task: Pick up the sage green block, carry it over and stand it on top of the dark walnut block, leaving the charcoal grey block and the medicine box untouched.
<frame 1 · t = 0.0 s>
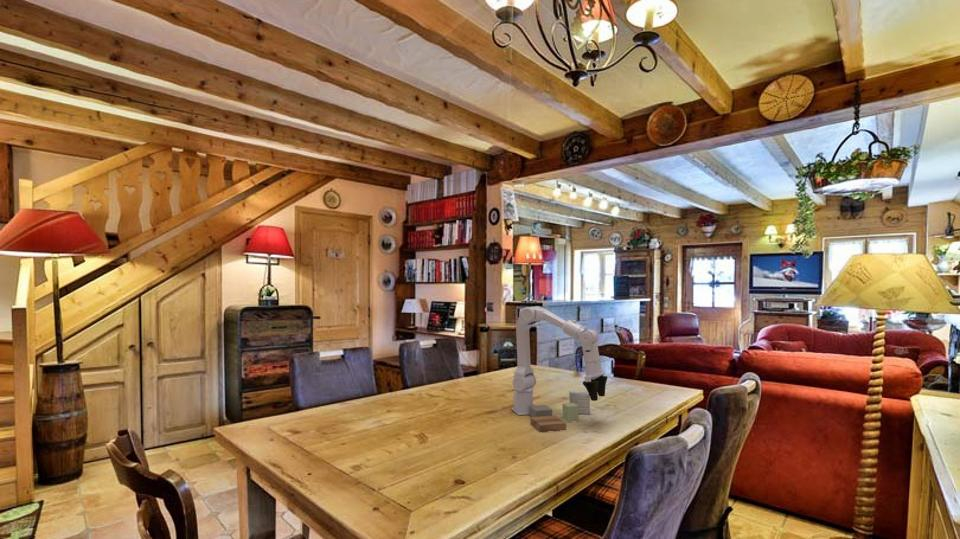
hand: (598, 398, 164), 11 cm above the table, tool pointing down, fingers open, 7 cm apart
medicine box: (579, 413, 181), on the table
sage block: (570, 420, 172), on the table
grey block: (540, 417, 175), on the table
walnut block: (547, 428, 163), on the table
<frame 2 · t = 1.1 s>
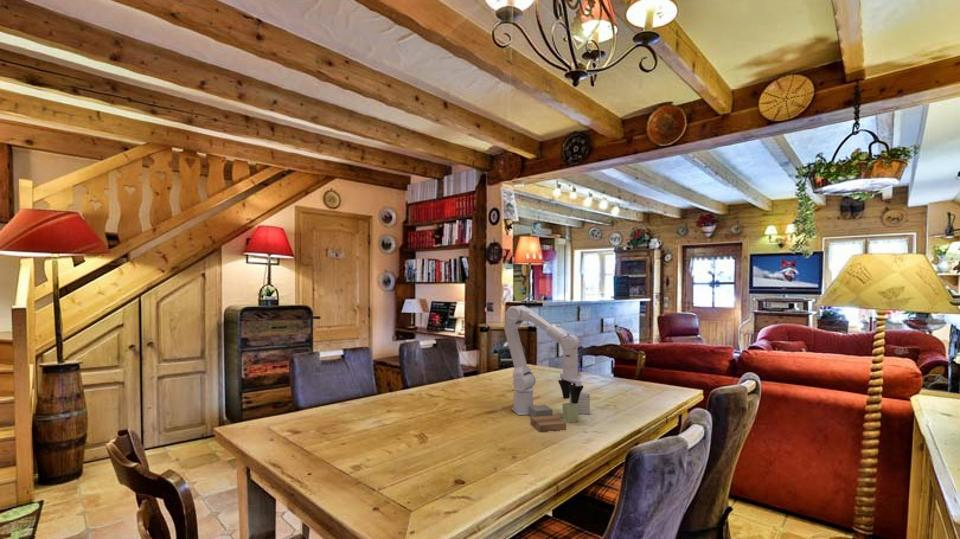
hand: (570, 400, 172), 7 cm above the table, tool pointing down, fingers open, 7 cm apart
nothing on the table moved.
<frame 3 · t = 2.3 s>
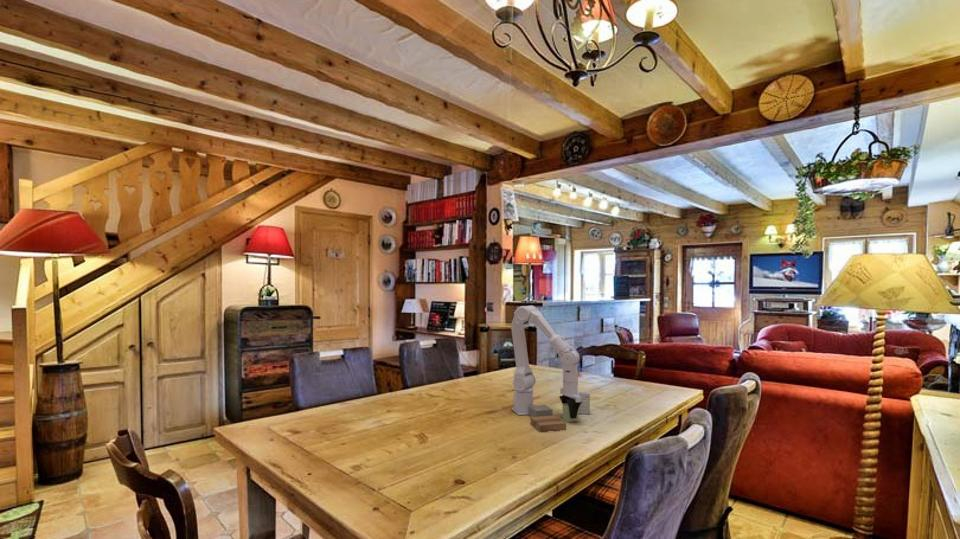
hand: (570, 416, 172), 1 cm above the table, tool pointing down, fingers closed on sage block, 4 cm apart
sage block: (570, 420, 172), on the table, touching gripper
everything else where it was.
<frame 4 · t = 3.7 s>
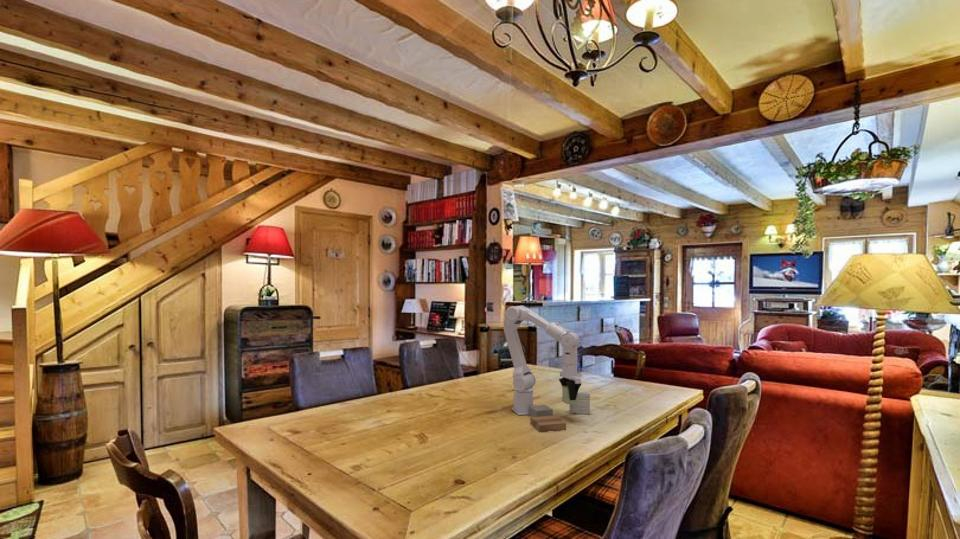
hand: (569, 398, 172), 8 cm above the table, tool pointing down, fingers closed on sage block, 4 cm apart
sage block: (570, 402, 172), point 7 cm above the table, touching gripper
everything else where it was.
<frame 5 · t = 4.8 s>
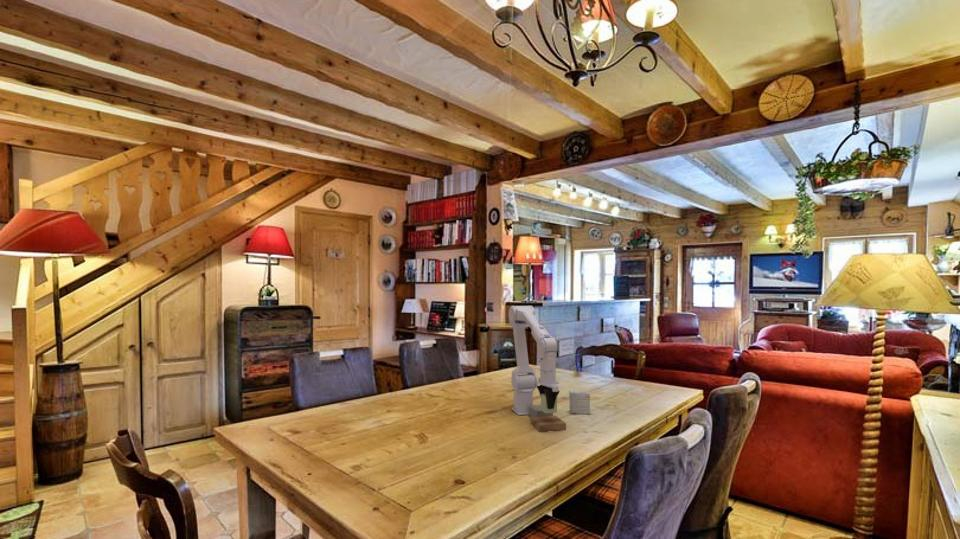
hand: (547, 406, 163), 7 cm above the table, tool pointing down, fingers closed on sage block, 4 cm apart
sage block: (548, 411, 163), point 6 cm above the table, touching gripper
everything else where it was.
when the fingers open (6 cm above the table, at t = 5.5 s): sage block drops 2 cm, point 2 cm above the table.
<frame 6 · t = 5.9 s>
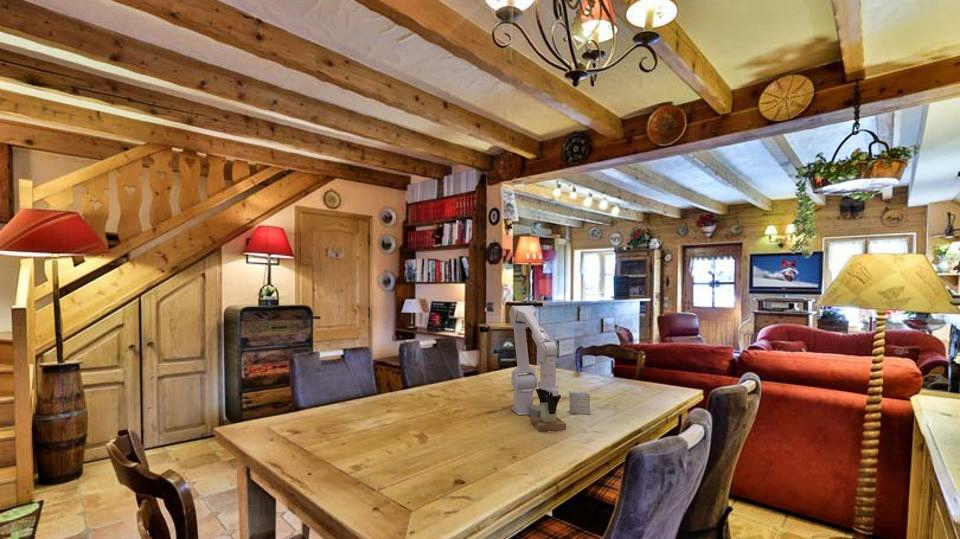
hand: (547, 410, 163), 6 cm above the table, tool pointing down, fingers open, 7 cm apart
sage block: (548, 420, 163), point 2 cm above the table
everything else where it was.
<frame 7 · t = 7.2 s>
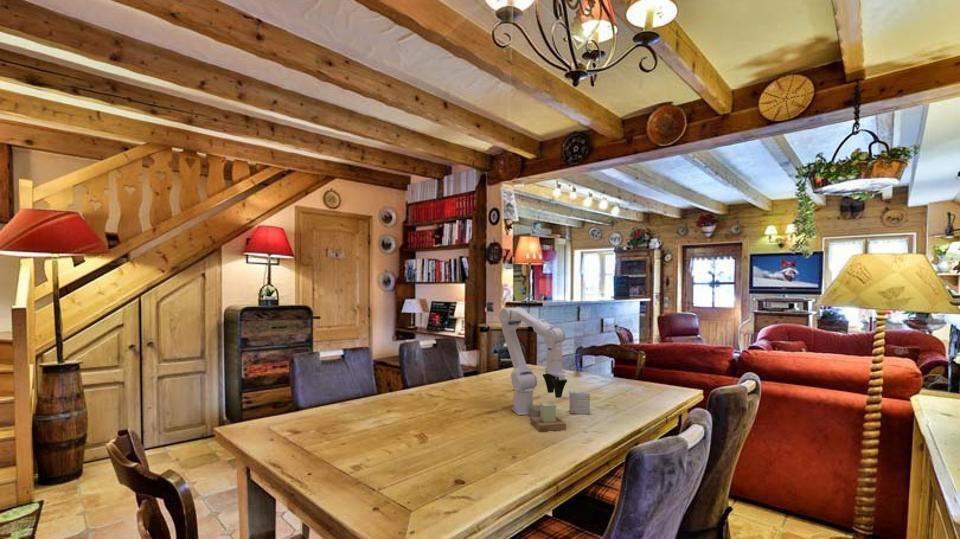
hand: (554, 395, 169), 10 cm above the table, tool pointing down, fingers open, 7 cm apart
nothing on the table moved.
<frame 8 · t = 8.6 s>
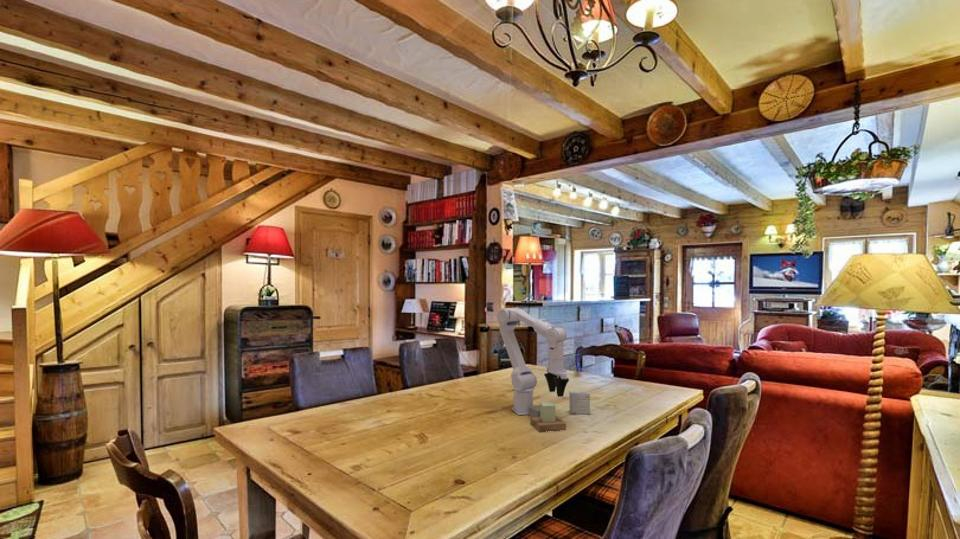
hand: (556, 394, 170), 10 cm above the table, tool pointing down, fingers open, 7 cm apart
nothing on the table moved.
at the end: sage block 0.1 cm off-centre on the walnut block, point 3.0 cm above the walnut block's base; sage block tilted 0°; the gripper is holding nothing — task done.
